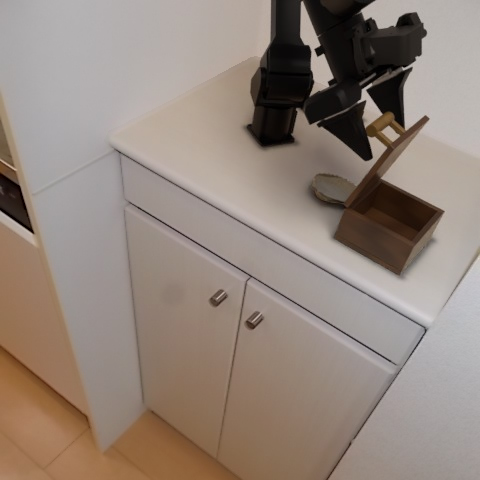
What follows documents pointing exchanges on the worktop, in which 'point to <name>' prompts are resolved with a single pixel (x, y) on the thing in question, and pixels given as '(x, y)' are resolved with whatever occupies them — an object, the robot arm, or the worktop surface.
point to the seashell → (332, 188)
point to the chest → (388, 225)
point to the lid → (389, 154)
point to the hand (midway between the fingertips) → (385, 145)
